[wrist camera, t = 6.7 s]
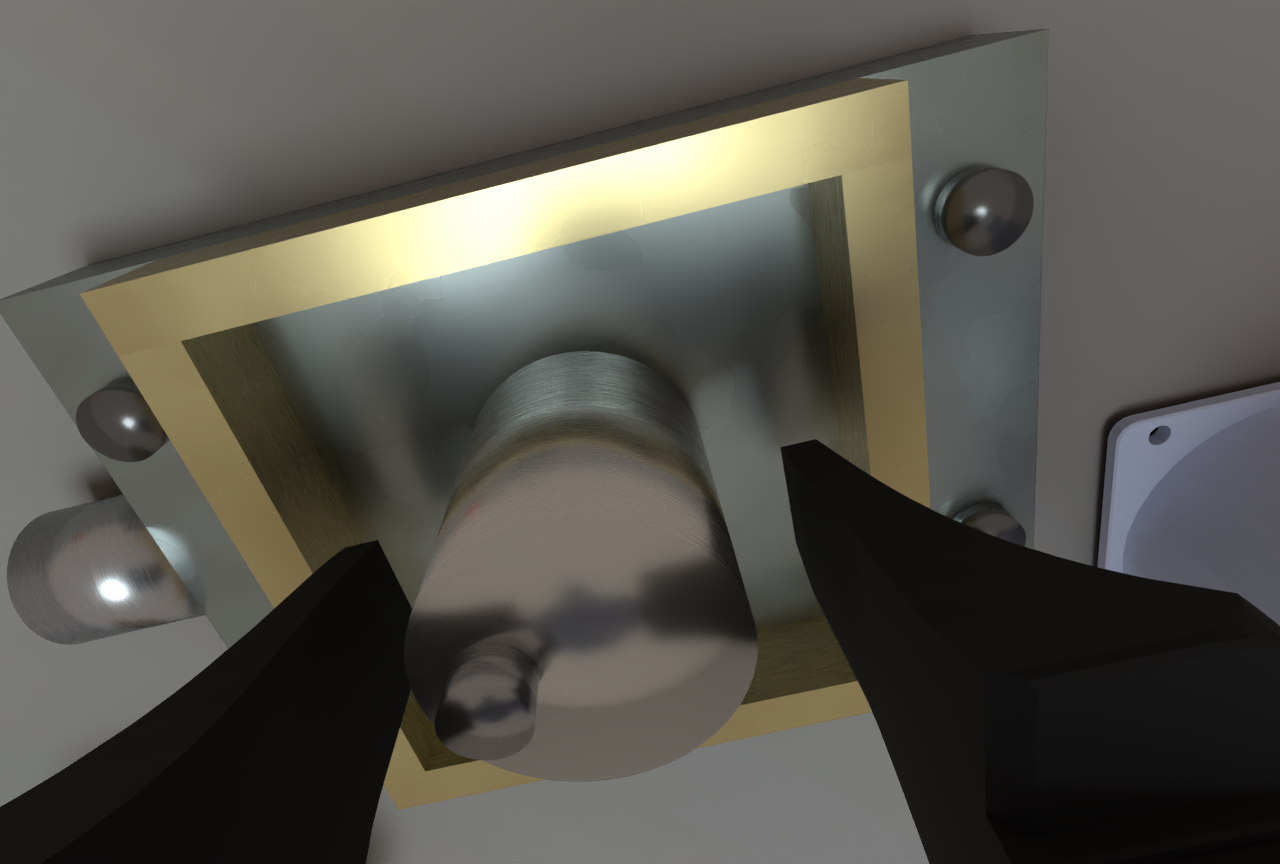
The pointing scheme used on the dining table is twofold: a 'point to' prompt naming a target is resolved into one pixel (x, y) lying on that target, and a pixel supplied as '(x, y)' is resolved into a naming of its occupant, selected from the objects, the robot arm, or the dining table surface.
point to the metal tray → (559, 323)
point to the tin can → (582, 581)
